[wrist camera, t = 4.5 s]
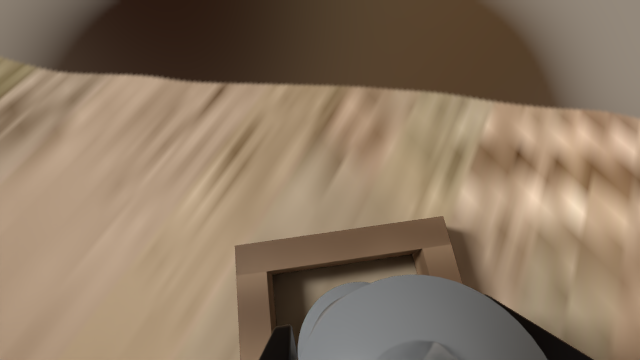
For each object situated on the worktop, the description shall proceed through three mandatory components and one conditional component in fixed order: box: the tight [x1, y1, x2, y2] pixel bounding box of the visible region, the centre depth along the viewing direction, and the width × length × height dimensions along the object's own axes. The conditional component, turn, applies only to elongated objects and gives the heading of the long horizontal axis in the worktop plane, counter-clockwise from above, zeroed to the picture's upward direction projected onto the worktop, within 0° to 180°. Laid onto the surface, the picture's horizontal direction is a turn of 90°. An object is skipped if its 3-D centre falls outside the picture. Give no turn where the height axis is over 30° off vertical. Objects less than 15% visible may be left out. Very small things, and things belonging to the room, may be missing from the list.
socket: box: [235, 216, 462, 360], centre depth 16 cm, size 8×11×2 cm
